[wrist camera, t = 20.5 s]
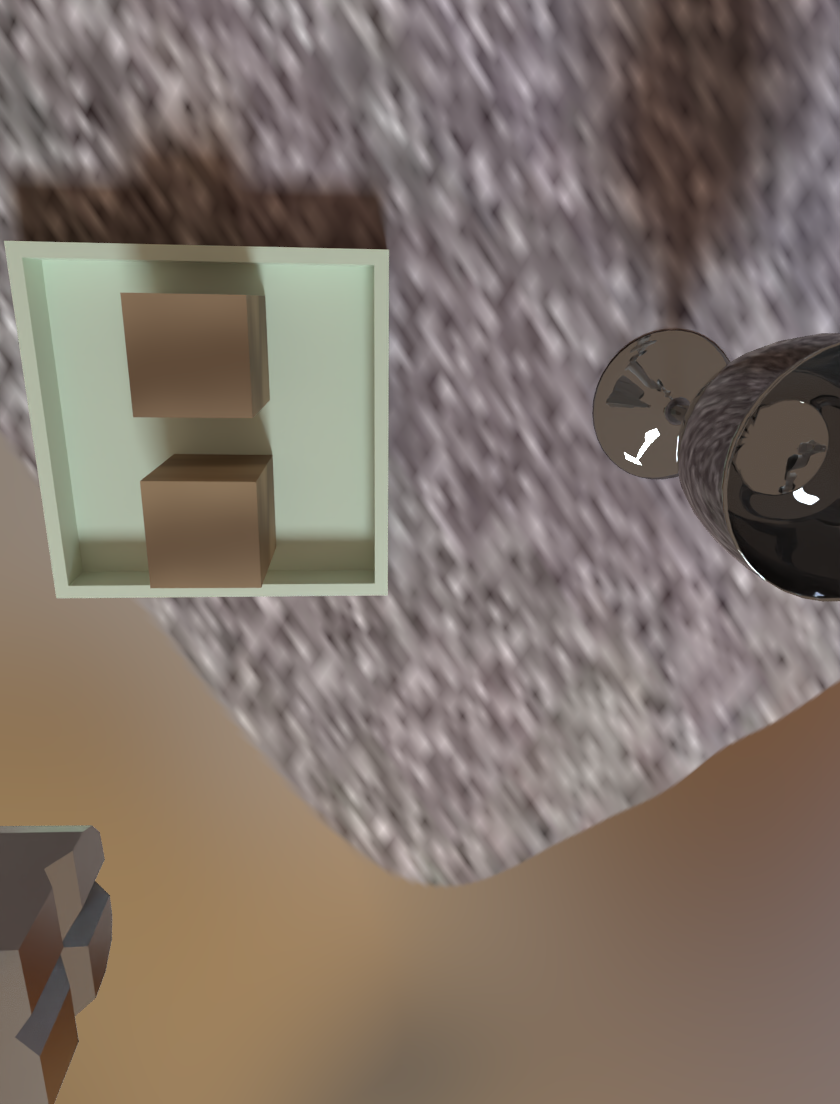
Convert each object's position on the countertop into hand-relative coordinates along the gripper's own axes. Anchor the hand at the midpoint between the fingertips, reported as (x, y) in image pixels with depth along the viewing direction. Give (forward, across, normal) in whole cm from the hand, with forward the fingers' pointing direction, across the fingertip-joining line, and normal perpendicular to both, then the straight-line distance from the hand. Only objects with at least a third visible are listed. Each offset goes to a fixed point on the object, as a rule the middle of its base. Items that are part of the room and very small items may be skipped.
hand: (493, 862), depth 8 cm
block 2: (+28, +8, +4) cm, 30 cm away
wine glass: (+29, -13, -1) cm, 32 cm away
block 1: (+28, +8, -4) cm, 30 cm away
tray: (+29, +8, 0) cm, 30 cm away
